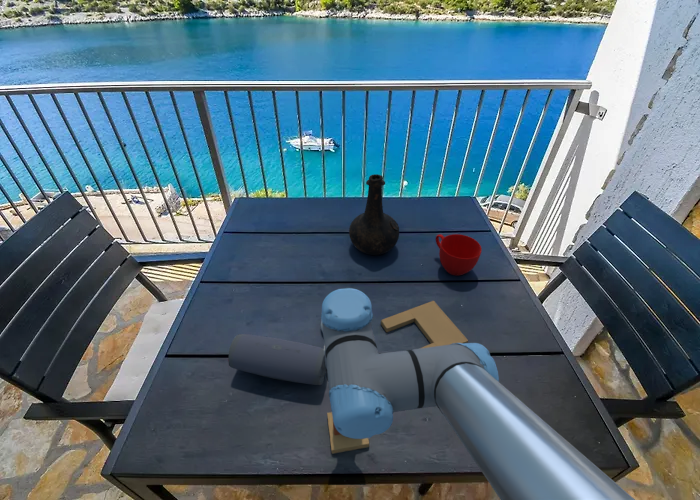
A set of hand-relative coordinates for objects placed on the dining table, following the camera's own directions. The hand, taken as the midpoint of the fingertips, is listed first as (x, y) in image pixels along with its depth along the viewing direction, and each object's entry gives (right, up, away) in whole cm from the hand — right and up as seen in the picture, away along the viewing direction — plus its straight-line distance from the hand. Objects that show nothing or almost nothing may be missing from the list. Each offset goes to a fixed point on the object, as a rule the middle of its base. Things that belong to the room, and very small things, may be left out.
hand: (347, 425), depth 75 cm
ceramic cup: (+35, +32, +45) cm, 66 cm away
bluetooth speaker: (-17, +7, +14) cm, 23 cm away
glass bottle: (+9, +39, +53) cm, 67 cm away
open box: (0, -2, +2) cm, 3 cm away
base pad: (+21, +14, +22) cm, 34 cm away
